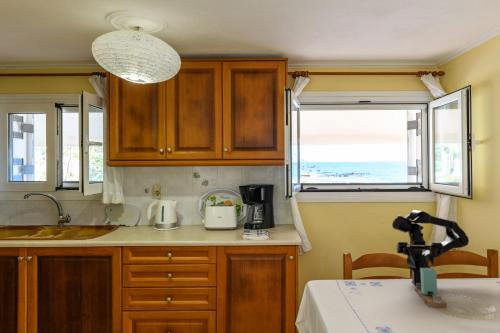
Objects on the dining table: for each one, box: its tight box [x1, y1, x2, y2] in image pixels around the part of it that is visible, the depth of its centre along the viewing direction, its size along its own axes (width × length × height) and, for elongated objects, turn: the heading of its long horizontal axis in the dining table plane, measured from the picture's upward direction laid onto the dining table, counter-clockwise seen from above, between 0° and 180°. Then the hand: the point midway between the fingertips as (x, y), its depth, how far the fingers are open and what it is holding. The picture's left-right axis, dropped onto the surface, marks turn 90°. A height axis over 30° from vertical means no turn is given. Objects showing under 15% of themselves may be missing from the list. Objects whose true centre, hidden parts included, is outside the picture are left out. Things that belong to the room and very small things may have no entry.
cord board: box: [414, 283, 448, 309], centre depth 138 cm, size 20×6×4 cm, turn 168°
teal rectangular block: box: [420, 267, 438, 295], centre depth 139 cm, size 4×5×10 cm
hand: (423, 264), depth 145 cm, fingers open, 7 cm apart
